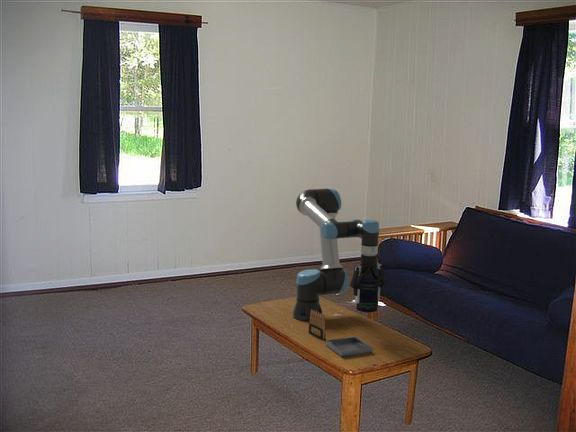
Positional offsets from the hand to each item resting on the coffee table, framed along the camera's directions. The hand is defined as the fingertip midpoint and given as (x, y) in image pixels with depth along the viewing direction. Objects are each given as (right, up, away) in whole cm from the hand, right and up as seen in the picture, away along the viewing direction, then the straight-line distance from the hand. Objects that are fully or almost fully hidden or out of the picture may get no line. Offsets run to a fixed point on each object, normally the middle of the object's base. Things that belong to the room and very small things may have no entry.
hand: (367, 301), depth 303 cm
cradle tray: (-10, -19, -13) cm, 25 cm away
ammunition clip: (-23, -17, +3) cm, 29 cm away
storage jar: (0, -4, +1) cm, 4 cm away
